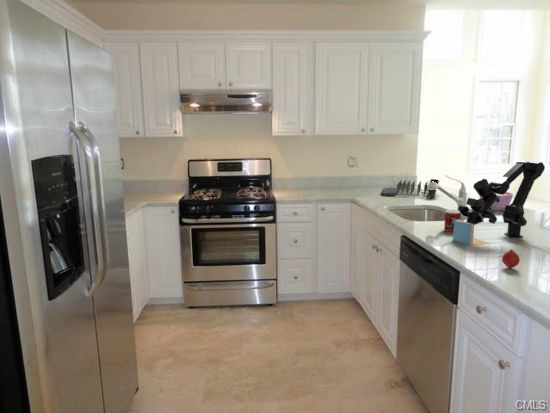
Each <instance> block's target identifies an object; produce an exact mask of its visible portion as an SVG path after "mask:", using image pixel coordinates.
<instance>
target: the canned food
mask: <svg viewBox="0 0 550 413" xmlns="http://www.w3.org/2000/svg"><path fill="white" fill-rule="evenodd" d="M444 213H445V214H444V228H443V230H444V232H448V233H453V232H454V220H460V221H462V214H461V213H460V211H459V210H458V209H447V210H445V212H444Z"/></svg>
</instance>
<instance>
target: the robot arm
mask: <svg viewBox="0 0 550 413" xmlns="http://www.w3.org/2000/svg"><path fill="white" fill-rule="evenodd" d="M545 168H546V166H545V164H544V163H543V162H542V161H527V160H518V161H516V162H515V164H514V165H513V166H512V167H511V168H510V169H509V170H507V171H506V173H504V174H503V175H502V176H500V177H499V178H496V179H493V180H492V181H491V182H489V181H488V179H487V178H482V179H481V180H478V181H477V182H475V183H473V189H474V190H475V192H476V194H477V195H478V196H479V197H480V196H481V197H482V198H481V199H480V198H478V199H476V198H472V197H468V198H467V200H466V202H465V205H460V206H459V207H458V208H457V210H458V211H460V213H461V216H463V217H464V218H465V217H466V222H468V223H471V224H474V226H475V225H478V224H481V223H484V220H485V219H488V223H490V224H494V225H495V224H496V222H497V220H498V218H497V216H496V215H495V213H494V211H490V210H491V208H490V207H491V206H492V205H493V204H494V202H500V200H499V196H497V195H496V194H501V195H503V194H505V193H506V192H508V190H510V185H511V184H512V183H513V182H514V181H515V180H516V179H517V178H518V177H519V176H521V175H522V174H523V178H522V180H521V182H520V184H519V187H518V189H517V191H516V194H515V196H514V198H513V200H512V201H511V202H512V203H510V204H509V205H506V207H505V209H504V210H502V212H503V213H502V219H503V223H504V224H507V229H506V230H507V231H506V232H504V235H505V236H507V237H509V238H524V236H523V235H522V234H521V231H522V227H525V226H526V225H527V223H528V220H526V218H525V216H524V215H525V209H524V205H525V204H526V201H527V199H528V198H529V197H528V196H529V194H530V192H531V190H532V188H533V185H534V184H535V181H536V180H537V179H538V178H540V177H541V176H542V175H543V173H544V171H545ZM467 205H468V206H469V207H470V208H469V207H468V206H467Z"/></svg>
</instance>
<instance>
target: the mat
mask: <svg viewBox="0 0 550 413" xmlns="http://www.w3.org/2000/svg"><path fill="white" fill-rule="evenodd" d="M451 240H452V241H454V240H453V238H452V239H451ZM488 244H490V242H487V241H484V240H481V239H478V238H474V237H473V245H468V246H470V247H475V246H481V245H488Z"/></svg>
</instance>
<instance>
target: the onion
mask: <svg viewBox="0 0 550 413" xmlns="http://www.w3.org/2000/svg"><path fill="white" fill-rule="evenodd" d="M501 260H502V263H503V264H504V266H505V267H506V268H508V269H513V268H516V267H517V266H518V265H519V263H520V256H519V255H518V253H516V252H515V251H514V249H513V248H510V250H508V251H505V253H504V254H503V255H502V258H501Z"/></svg>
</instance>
